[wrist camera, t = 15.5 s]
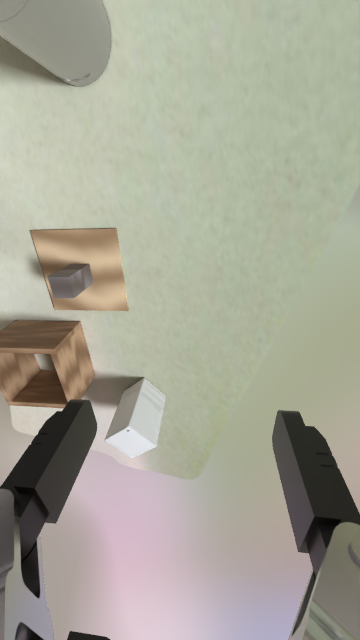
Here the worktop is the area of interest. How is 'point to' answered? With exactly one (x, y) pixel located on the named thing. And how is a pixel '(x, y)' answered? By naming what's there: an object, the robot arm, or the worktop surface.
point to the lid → (82, 268)
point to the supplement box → (137, 419)
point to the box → (24, 373)
